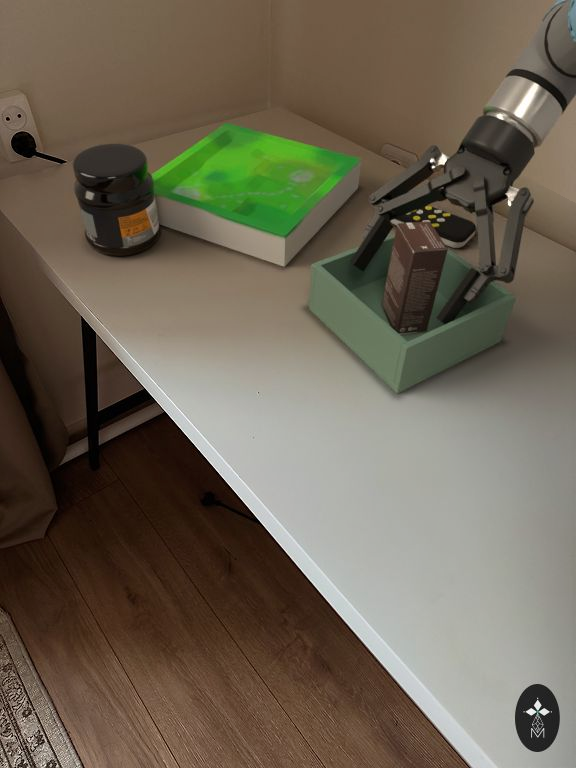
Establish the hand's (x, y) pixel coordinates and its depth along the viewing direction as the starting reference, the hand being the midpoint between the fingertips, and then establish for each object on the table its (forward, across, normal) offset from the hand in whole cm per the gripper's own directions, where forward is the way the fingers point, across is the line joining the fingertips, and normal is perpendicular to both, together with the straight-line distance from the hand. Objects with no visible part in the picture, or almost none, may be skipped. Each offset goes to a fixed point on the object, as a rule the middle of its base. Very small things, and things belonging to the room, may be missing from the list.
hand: (397, 293), depth 74 cm
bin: (+3, 0, -6) cm, 7 cm away
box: (+2, 0, -6) cm, 6 cm away
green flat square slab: (0, +35, -9) cm, 36 cm away
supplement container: (+15, +39, +6) cm, 42 cm away
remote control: (-11, +12, -20) cm, 26 cm away
